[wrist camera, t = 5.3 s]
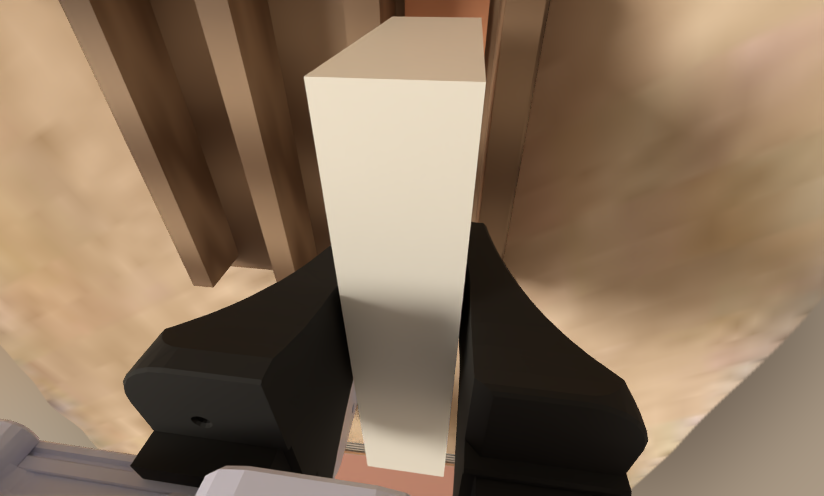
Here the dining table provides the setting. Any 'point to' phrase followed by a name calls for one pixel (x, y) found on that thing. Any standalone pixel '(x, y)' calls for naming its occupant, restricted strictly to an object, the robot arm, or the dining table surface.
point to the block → (401, 219)
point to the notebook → (394, 475)
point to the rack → (275, 113)
